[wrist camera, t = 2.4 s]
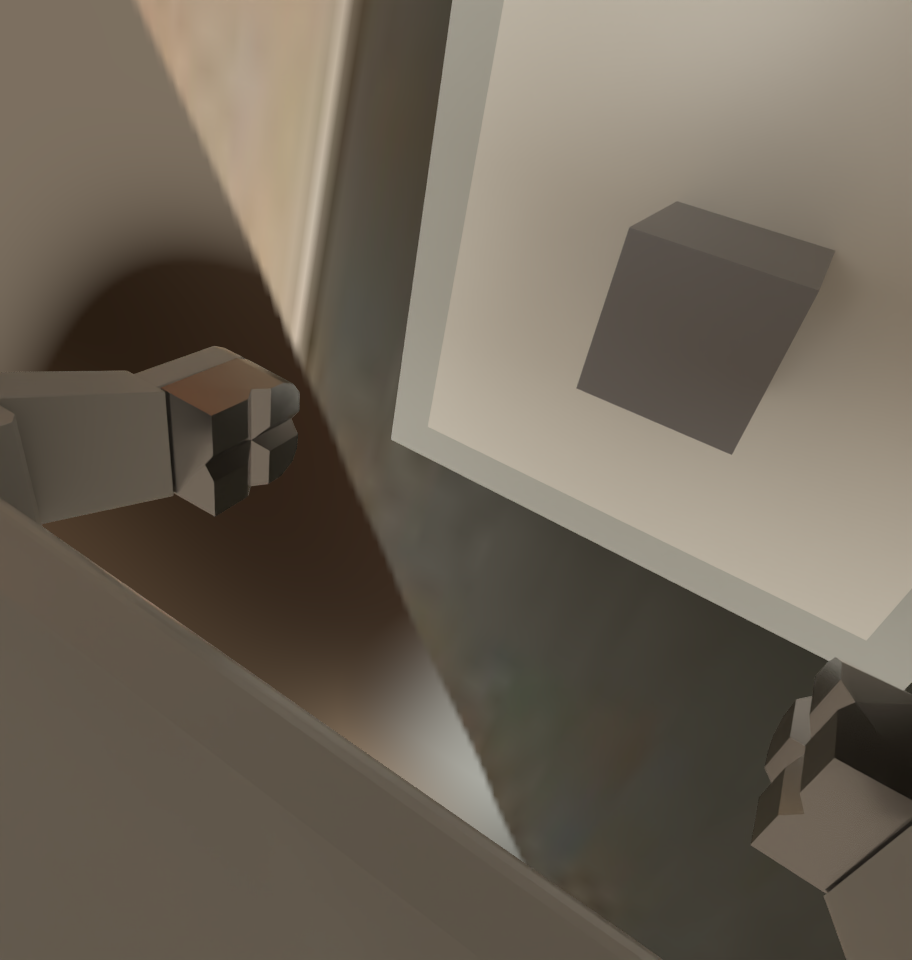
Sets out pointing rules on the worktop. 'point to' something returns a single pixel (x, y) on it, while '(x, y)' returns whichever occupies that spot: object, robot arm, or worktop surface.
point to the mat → (464, 85)
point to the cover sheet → (742, 153)
